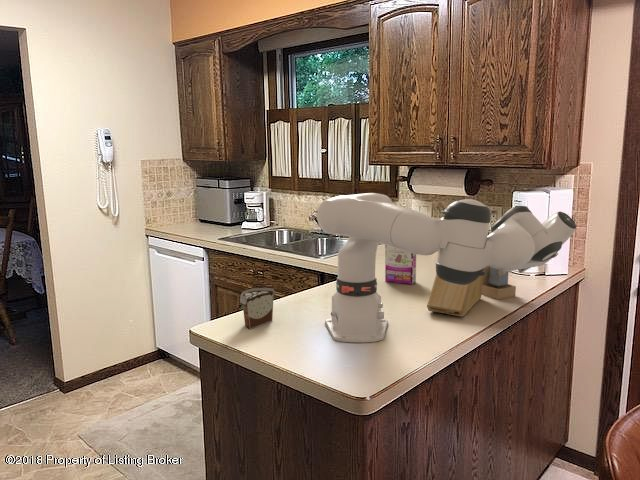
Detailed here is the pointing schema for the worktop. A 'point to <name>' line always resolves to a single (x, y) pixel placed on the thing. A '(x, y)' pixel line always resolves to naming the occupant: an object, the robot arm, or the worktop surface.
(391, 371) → the worktop surface
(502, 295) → the carton
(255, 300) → the food container
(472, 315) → the worktop surface
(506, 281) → the tea tin
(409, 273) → the candy bar box
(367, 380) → the worktop surface
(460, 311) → the knife block
